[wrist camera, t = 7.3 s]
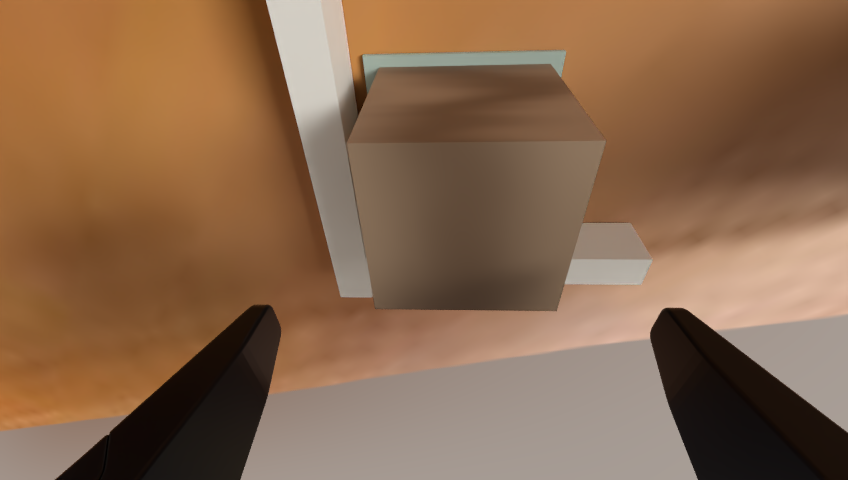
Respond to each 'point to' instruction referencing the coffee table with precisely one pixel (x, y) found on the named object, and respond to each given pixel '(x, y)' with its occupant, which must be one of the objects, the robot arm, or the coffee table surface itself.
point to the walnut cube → (471, 185)
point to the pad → (460, 60)
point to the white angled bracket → (330, 166)
